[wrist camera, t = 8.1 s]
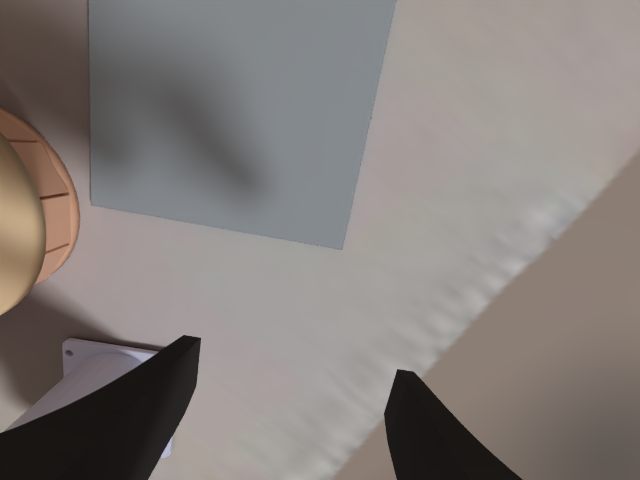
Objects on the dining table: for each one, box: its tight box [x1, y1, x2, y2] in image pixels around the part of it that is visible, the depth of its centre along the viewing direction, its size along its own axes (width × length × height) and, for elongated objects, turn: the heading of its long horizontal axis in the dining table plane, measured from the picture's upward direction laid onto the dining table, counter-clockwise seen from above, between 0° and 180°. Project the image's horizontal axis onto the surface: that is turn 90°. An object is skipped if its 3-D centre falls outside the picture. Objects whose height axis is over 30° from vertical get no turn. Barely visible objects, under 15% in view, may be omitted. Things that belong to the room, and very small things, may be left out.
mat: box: [89, 0, 396, 250], centre depth 18 cm, size 16×16×1 cm
